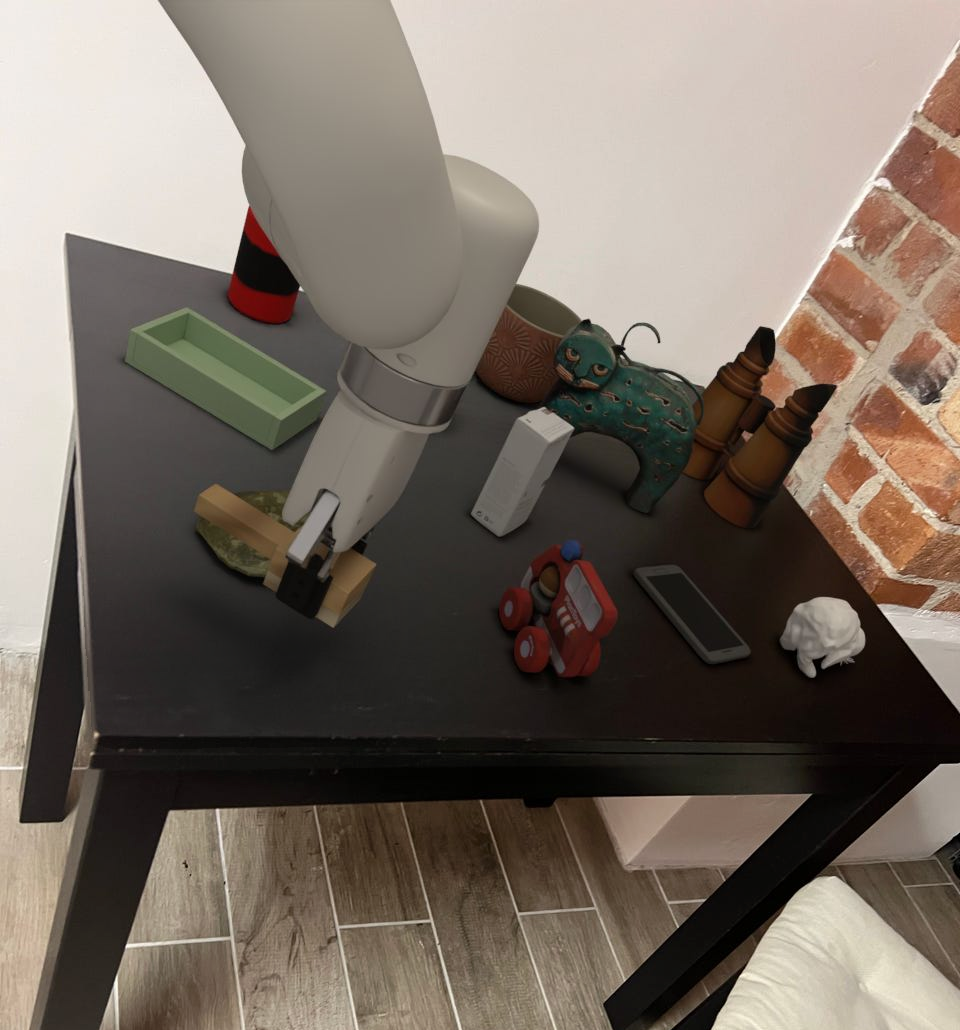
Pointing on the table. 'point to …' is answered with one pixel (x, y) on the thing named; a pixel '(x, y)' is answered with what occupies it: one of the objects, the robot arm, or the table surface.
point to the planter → (525, 345)
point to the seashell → (236, 550)
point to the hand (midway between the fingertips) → (314, 588)
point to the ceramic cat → (625, 406)
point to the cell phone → (692, 614)
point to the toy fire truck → (559, 613)
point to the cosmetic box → (521, 470)
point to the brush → (285, 550)
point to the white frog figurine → (823, 633)
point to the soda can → (261, 277)
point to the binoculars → (774, 437)
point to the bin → (225, 376)
